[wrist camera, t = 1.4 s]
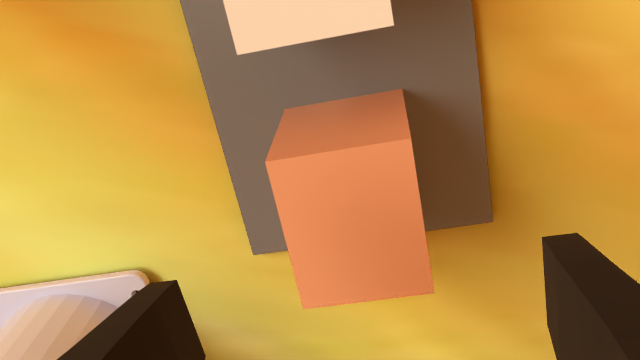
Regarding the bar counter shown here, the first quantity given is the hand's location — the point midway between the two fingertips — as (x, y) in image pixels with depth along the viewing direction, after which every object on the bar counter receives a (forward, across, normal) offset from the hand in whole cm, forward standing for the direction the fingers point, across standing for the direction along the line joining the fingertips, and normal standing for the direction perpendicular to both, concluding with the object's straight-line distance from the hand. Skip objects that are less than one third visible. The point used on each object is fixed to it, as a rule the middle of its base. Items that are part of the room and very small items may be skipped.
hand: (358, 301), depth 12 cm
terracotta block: (+10, +1, +2) cm, 10 cm away
